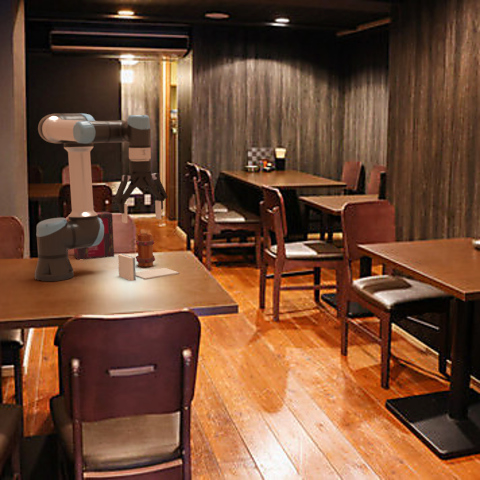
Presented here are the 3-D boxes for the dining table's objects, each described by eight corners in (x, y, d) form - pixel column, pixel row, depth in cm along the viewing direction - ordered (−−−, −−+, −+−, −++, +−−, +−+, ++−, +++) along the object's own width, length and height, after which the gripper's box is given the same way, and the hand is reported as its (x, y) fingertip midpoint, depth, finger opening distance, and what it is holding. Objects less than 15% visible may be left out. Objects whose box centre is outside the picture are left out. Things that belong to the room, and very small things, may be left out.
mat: (131, 274, 270) (131, 273, 270) (164, 269, 280) (164, 267, 280) (145, 279, 262) (144, 278, 261) (179, 273, 271) (179, 272, 271)
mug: (156, 267, 283) (155, 233, 280) (137, 268, 281) (136, 233, 278) (152, 260, 297) (151, 227, 294) (134, 261, 295) (132, 228, 292)
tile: (119, 276, 268) (118, 254, 266) (123, 275, 269) (122, 253, 267) (131, 280, 260) (130, 258, 258) (135, 280, 261) (135, 257, 260)
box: (78, 259, 300) (75, 216, 296) (74, 256, 308) (72, 213, 304) (114, 256, 307) (112, 213, 303) (109, 253, 314) (107, 211, 311)
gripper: (112, 162, 219) (115, 225, 223) (176, 159, 234) (177, 218, 238) (102, 161, 225) (104, 223, 229) (165, 158, 240) (166, 216, 244)
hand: (141, 220), depth 233 cm, fingers open, 13 cm apart
